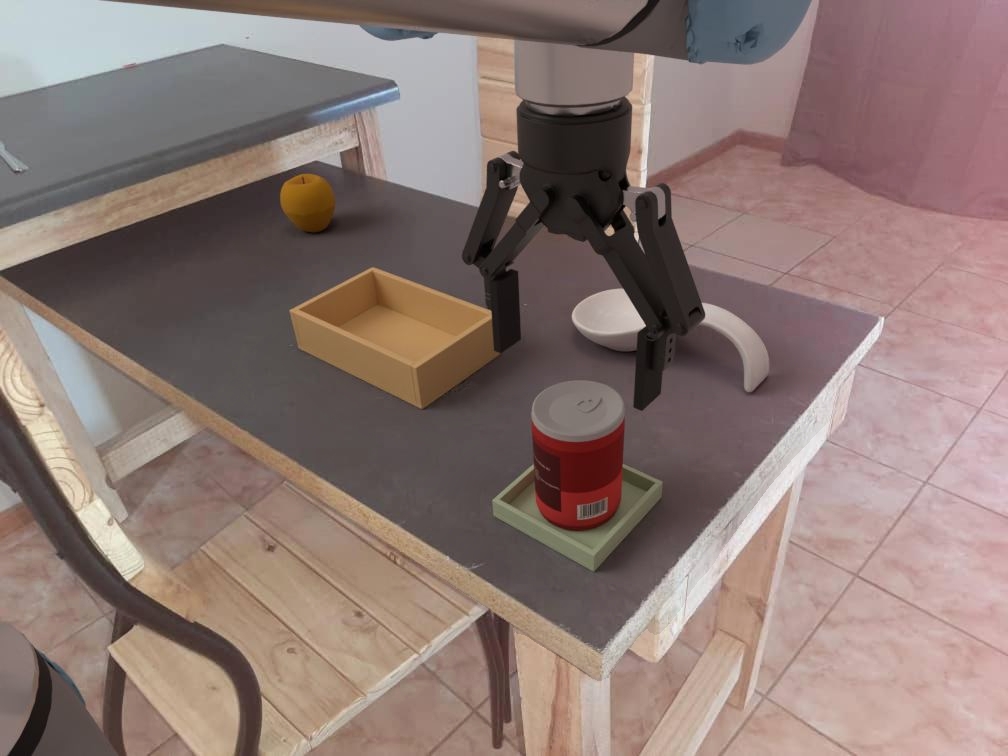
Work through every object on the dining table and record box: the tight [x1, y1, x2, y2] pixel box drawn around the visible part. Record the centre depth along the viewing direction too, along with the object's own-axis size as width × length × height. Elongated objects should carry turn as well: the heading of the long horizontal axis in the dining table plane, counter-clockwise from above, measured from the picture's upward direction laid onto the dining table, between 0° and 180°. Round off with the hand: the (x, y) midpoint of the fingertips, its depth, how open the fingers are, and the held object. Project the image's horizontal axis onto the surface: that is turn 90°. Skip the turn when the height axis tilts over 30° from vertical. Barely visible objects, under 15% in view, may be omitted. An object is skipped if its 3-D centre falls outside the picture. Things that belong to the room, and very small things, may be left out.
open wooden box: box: [289, 266, 502, 410], centre depth 93 cm, size 22×14×6 cm, turn 50°
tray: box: [491, 463, 663, 573], centre depth 70 cm, size 11×11×2 cm
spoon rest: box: [571, 288, 770, 393], centre depth 89 cm, size 24×12×7 cm, turn 51°
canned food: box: [530, 379, 626, 531], centre depth 68 cm, size 8×8×11 cm
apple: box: [279, 173, 336, 233], centre depth 124 cm, size 9×8×9 cm
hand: (573, 371), depth 62 cm, fingers open, 13 cm apart
